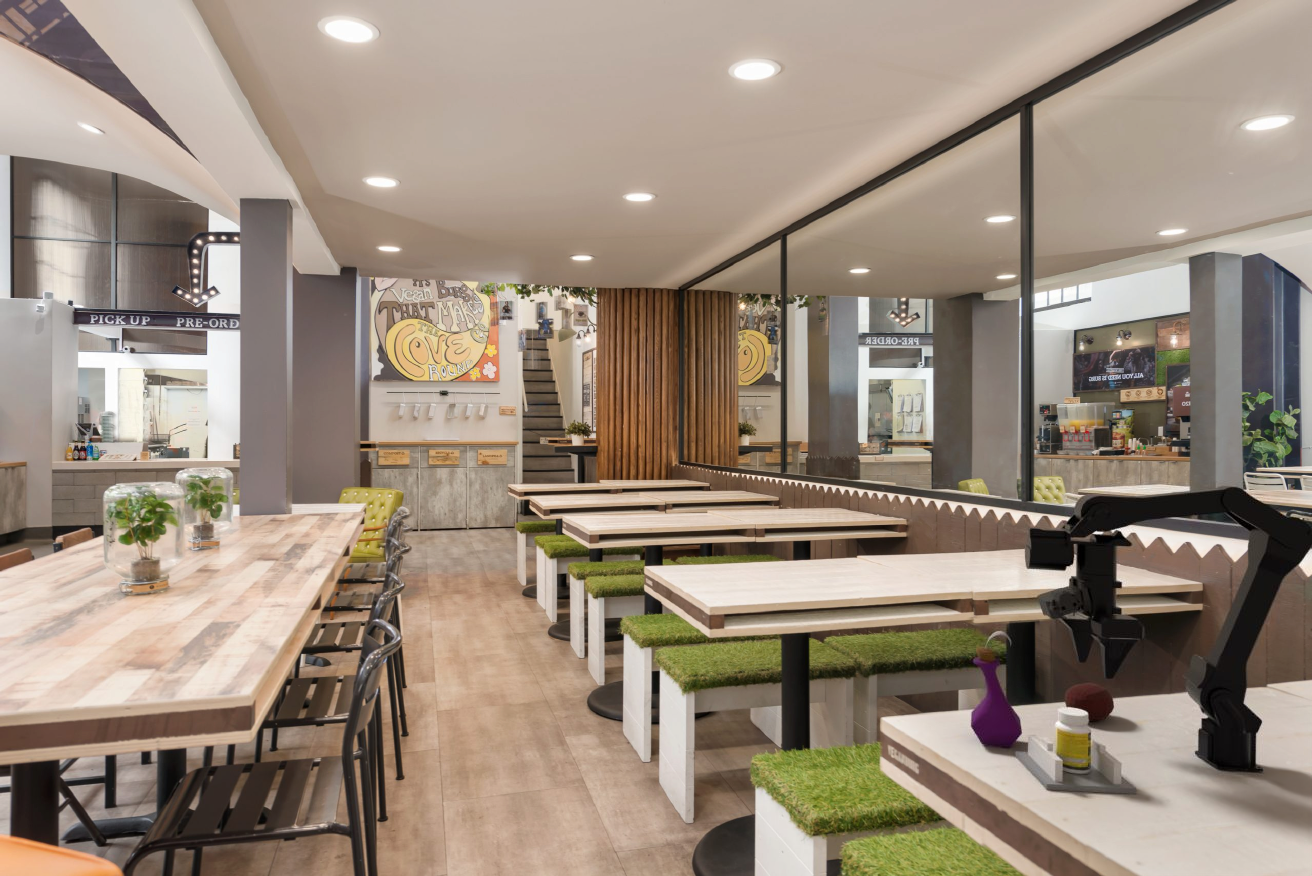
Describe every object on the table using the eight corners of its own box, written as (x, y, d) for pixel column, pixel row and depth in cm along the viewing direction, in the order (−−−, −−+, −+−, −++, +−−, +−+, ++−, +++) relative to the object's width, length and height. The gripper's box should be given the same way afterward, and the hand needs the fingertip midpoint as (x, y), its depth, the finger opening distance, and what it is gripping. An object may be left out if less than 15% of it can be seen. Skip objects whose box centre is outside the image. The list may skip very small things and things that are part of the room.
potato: (1054, 717, 144) (1054, 683, 144) (1084, 707, 150) (1085, 674, 150) (1095, 730, 138) (1096, 694, 138) (1125, 719, 144) (1126, 684, 144)
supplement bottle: (1095, 776, 116) (1095, 717, 116) (1060, 773, 117) (1060, 715, 117) (1084, 763, 121) (1085, 707, 121) (1050, 760, 122) (1051, 704, 122)
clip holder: (1095, 760, 124) (1096, 728, 124) (1135, 793, 112) (1136, 759, 112) (1015, 756, 125) (1015, 725, 125) (1046, 789, 113) (1047, 755, 113)
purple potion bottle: (970, 746, 129) (972, 634, 129) (971, 731, 136) (972, 624, 136) (1021, 754, 127) (1023, 639, 127) (1019, 738, 133) (1021, 629, 134)
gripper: (1022, 562, 139) (1021, 653, 139) (1069, 581, 121) (1067, 685, 121) (1089, 564, 138) (1088, 655, 138) (1147, 583, 120) (1145, 688, 120)
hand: (1094, 670), depth 129 cm, fingers open, 9 cm apart
